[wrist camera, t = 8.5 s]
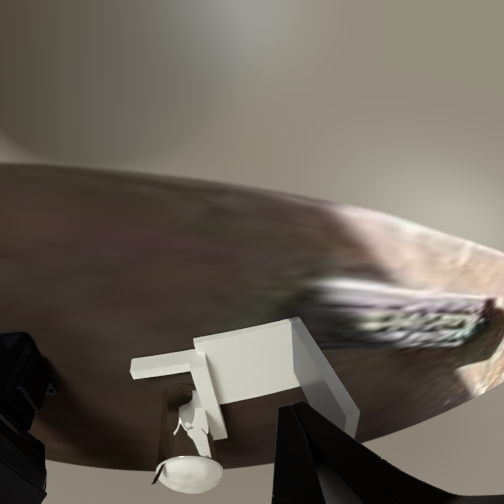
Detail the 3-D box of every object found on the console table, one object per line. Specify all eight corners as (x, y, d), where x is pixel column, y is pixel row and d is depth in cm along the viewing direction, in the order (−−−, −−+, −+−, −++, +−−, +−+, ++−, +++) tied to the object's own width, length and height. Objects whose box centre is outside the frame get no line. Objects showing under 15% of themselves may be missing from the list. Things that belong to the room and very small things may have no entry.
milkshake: (173, 362, 23) (178, 472, 14) (220, 394, 25) (242, 494, 16) (138, 391, 23) (132, 493, 14) (184, 419, 25) (195, 513, 16)
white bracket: (164, 428, 25) (170, 522, 16) (127, 348, 21) (112, 460, 12) (301, 401, 27) (341, 486, 18) (298, 316, 23) (359, 411, 14)
